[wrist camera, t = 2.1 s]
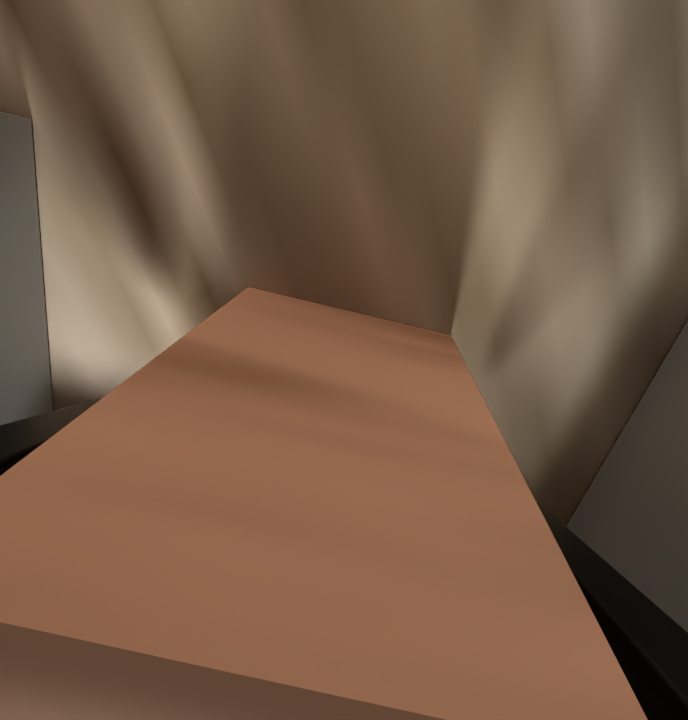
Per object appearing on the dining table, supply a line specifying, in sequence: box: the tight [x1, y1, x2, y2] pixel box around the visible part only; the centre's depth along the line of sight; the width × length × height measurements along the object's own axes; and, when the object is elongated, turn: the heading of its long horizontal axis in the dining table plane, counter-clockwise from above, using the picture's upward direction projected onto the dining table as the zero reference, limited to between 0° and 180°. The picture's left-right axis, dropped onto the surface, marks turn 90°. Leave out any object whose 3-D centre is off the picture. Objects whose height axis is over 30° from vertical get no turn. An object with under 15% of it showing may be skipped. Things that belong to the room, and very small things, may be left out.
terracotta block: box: [0, 287, 647, 720], centre depth 7 cm, size 5×5×8 cm
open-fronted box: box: [0, 111, 688, 632], centre depth 9 cm, size 11×17×4 cm, turn 77°
